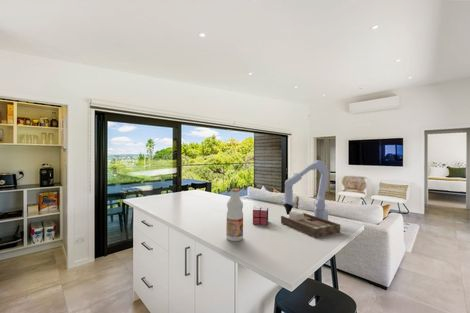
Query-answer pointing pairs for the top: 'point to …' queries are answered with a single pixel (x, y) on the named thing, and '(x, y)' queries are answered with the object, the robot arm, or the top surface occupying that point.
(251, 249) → the top surface
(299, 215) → the cream block
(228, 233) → the fruit juice
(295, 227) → the trap box
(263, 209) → the puzzle cube
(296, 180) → the robot arm
